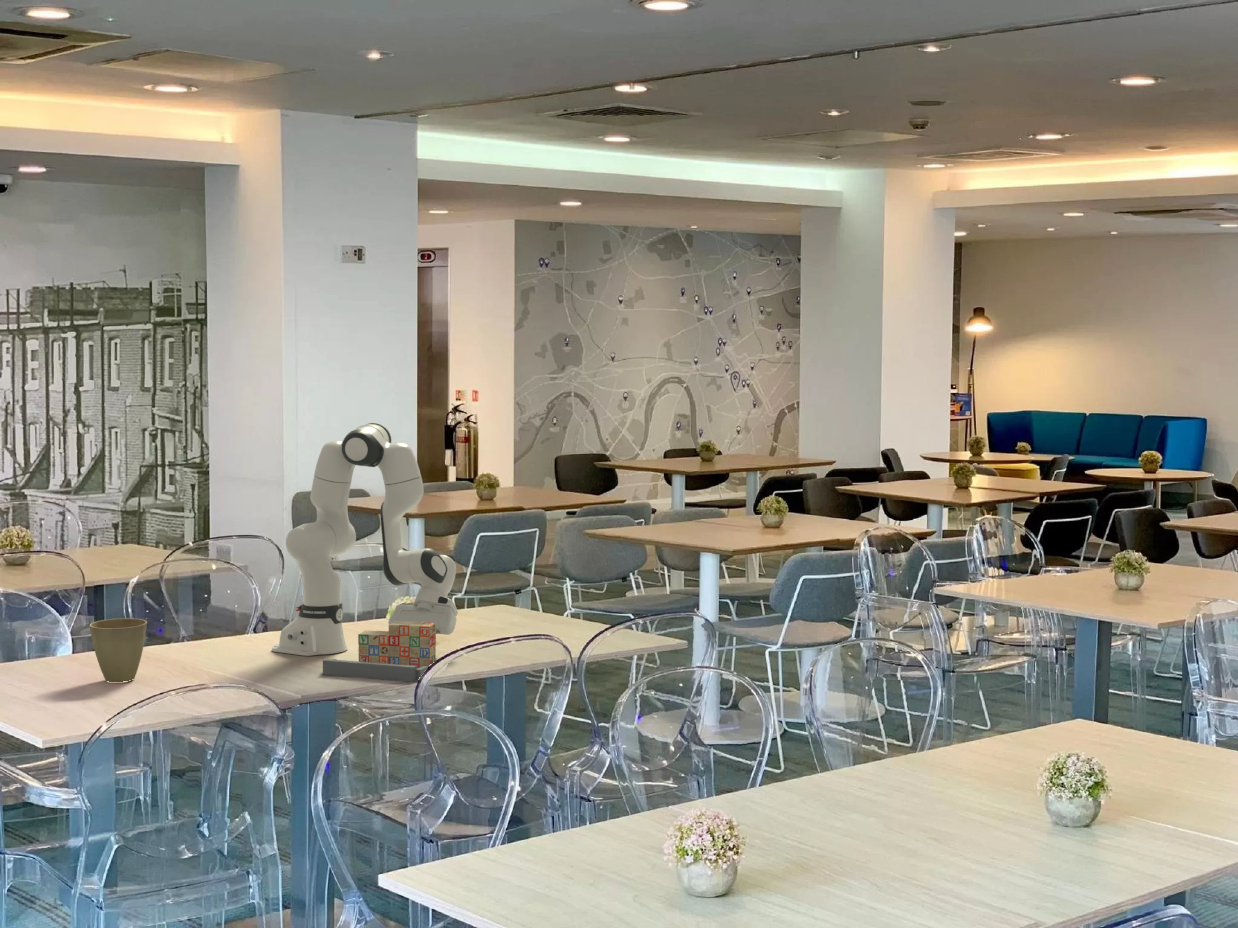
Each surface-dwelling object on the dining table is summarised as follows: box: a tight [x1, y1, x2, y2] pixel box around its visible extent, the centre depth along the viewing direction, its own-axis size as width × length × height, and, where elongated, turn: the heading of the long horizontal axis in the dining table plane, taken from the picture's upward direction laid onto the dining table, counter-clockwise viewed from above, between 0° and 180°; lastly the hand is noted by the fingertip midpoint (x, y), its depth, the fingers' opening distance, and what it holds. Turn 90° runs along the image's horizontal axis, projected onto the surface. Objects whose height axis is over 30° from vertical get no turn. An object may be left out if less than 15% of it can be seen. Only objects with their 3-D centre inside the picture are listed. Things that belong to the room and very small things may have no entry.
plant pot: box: [89, 617, 148, 682], centre depth 421 cm, size 15×15×16 cm
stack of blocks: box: [357, 621, 437, 667], centre depth 443 cm, size 21×6×12 cm, turn 80°
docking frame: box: [322, 658, 429, 683], centre depth 428 cm, size 30×7×4 cm, turn 70°
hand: (414, 642), depth 450 cm, fingers closed
